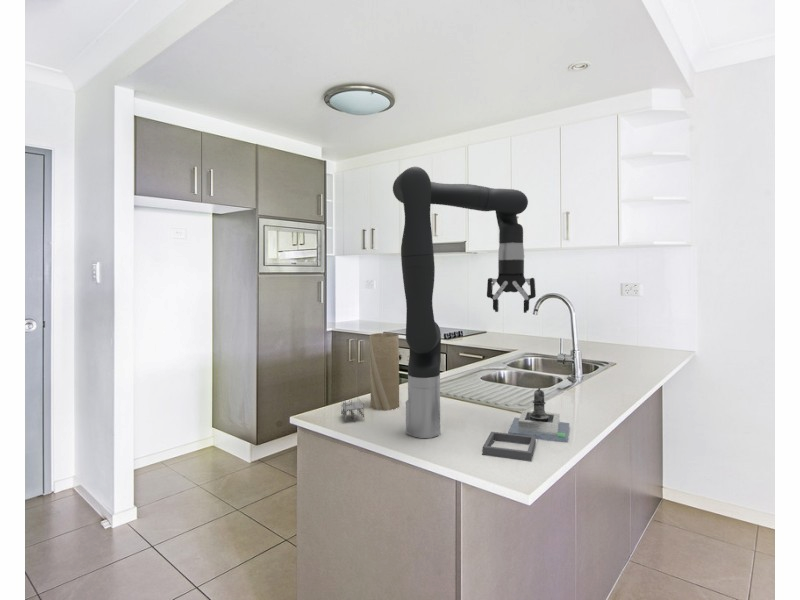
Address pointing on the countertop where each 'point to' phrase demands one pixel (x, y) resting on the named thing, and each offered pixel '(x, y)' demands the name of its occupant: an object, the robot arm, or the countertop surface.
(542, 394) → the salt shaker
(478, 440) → the countertop surface
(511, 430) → the port panel
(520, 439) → the dark grey square frame
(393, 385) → the tube
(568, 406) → the countertop surface
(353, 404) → the building frame
